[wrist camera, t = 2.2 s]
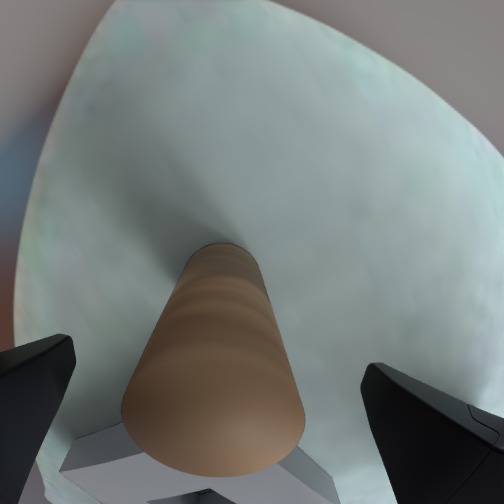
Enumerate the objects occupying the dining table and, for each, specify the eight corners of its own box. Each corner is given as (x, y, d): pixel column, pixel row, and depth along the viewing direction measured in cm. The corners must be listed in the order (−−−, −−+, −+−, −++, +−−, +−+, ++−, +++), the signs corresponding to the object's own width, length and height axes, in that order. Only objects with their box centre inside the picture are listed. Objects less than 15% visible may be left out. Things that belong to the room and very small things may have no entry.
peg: (233, 227, 15) (237, 319, 5) (275, 291, 16) (332, 438, 6) (168, 270, 15) (86, 400, 5) (212, 329, 16) (198, 489, 6)
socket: (228, 374, 17) (228, 421, 13) (332, 477, 20) (342, 510, 16) (74, 439, 18) (58, 472, 14) (192, 519, 21) (191, 547, 17)
